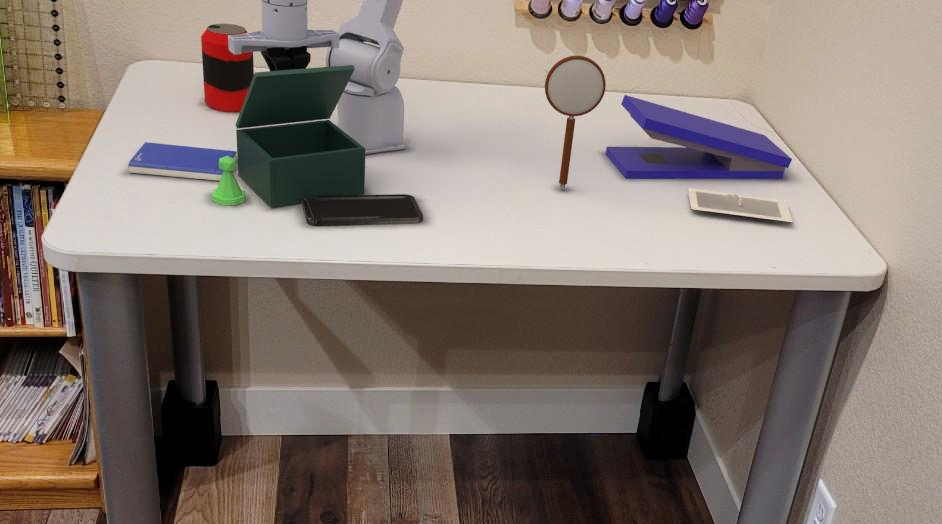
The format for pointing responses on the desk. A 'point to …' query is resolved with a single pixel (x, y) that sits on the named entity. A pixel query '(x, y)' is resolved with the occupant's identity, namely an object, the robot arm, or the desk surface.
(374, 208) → the phone
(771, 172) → the stapler
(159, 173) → the hard drive
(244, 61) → the soda can
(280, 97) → the bin lid
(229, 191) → the game piece
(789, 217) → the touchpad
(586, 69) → the magnifying glass
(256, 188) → the bin
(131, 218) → the desk surface
